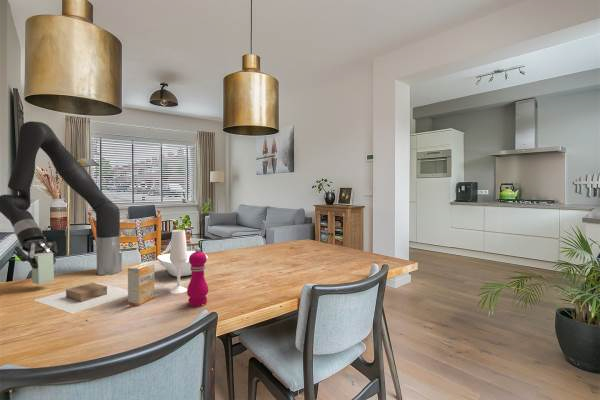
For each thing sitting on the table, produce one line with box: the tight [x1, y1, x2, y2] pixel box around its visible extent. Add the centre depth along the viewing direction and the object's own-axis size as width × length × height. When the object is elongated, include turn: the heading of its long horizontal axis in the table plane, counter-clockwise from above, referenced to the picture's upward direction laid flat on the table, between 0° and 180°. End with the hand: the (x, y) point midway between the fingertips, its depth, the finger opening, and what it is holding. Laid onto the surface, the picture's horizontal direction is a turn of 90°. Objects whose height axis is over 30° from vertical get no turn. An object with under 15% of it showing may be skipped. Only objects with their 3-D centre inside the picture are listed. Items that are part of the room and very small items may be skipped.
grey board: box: [33, 282, 128, 315], centre depth 112 cm, size 22×24×1 cm
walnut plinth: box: [65, 282, 107, 302], centre depth 111 cm, size 9×9×3 cm
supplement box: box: [127, 262, 155, 306], centre depth 110 cm, size 8×5×13 cm, turn 168°
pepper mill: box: [186, 247, 209, 307], centre depth 109 cm, size 7×7×20 cm
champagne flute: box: [169, 229, 188, 295], centre depth 121 cm, size 7×7×24 cm
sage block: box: [31, 252, 55, 285], centre depth 121 cm, size 5×5×11 cm
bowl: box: [157, 250, 209, 278], centre depth 144 cm, size 21×21×9 cm
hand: (45, 265), depth 120 cm, fingers closed on sage block, 5 cm apart
